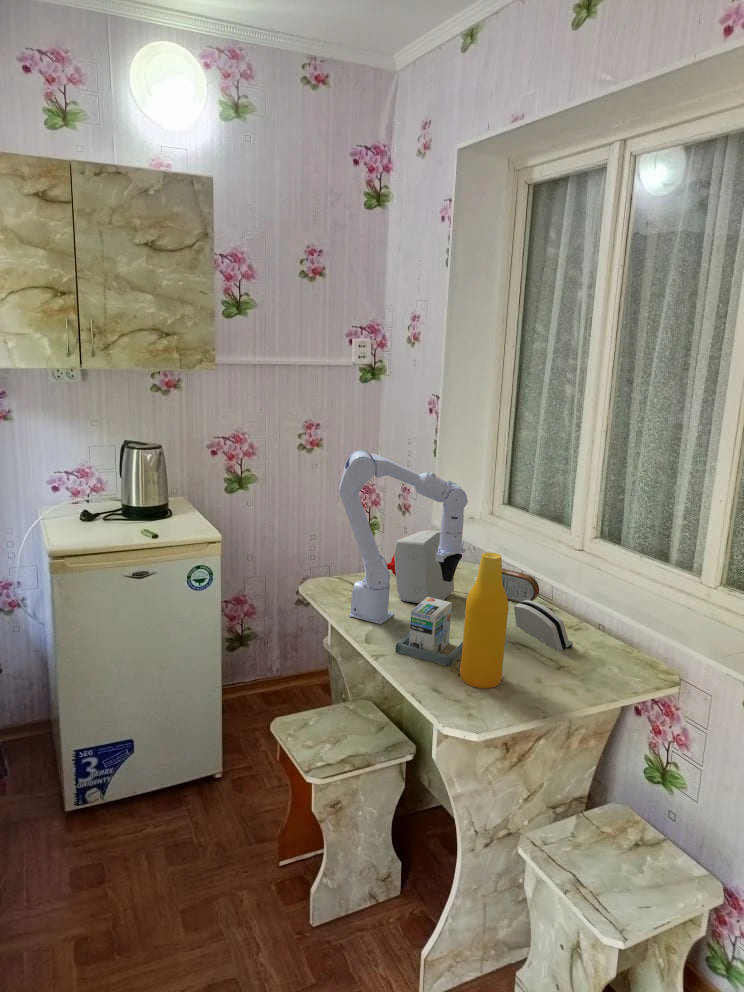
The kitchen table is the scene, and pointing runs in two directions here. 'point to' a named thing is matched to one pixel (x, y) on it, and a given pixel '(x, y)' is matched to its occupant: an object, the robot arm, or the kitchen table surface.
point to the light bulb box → (430, 625)
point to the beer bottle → (485, 626)
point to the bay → (428, 652)
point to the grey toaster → (542, 624)
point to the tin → (519, 586)
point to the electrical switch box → (419, 568)
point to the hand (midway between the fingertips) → (447, 580)
